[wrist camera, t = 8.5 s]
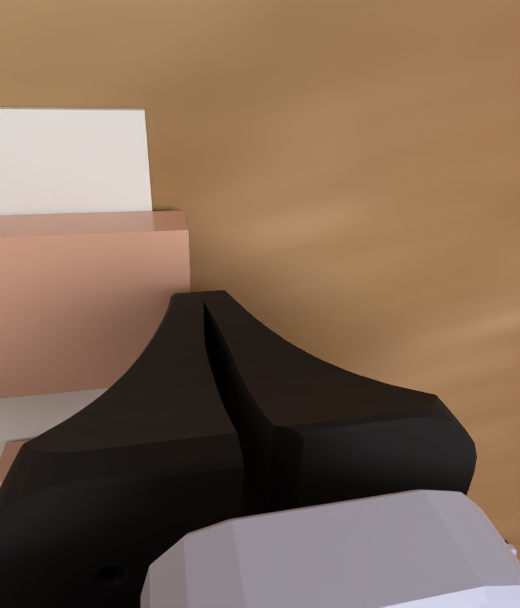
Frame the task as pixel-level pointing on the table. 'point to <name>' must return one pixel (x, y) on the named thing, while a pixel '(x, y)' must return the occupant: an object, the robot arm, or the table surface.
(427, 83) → the table surface
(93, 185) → the felt mat
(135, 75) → the table surface
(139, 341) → the tile
